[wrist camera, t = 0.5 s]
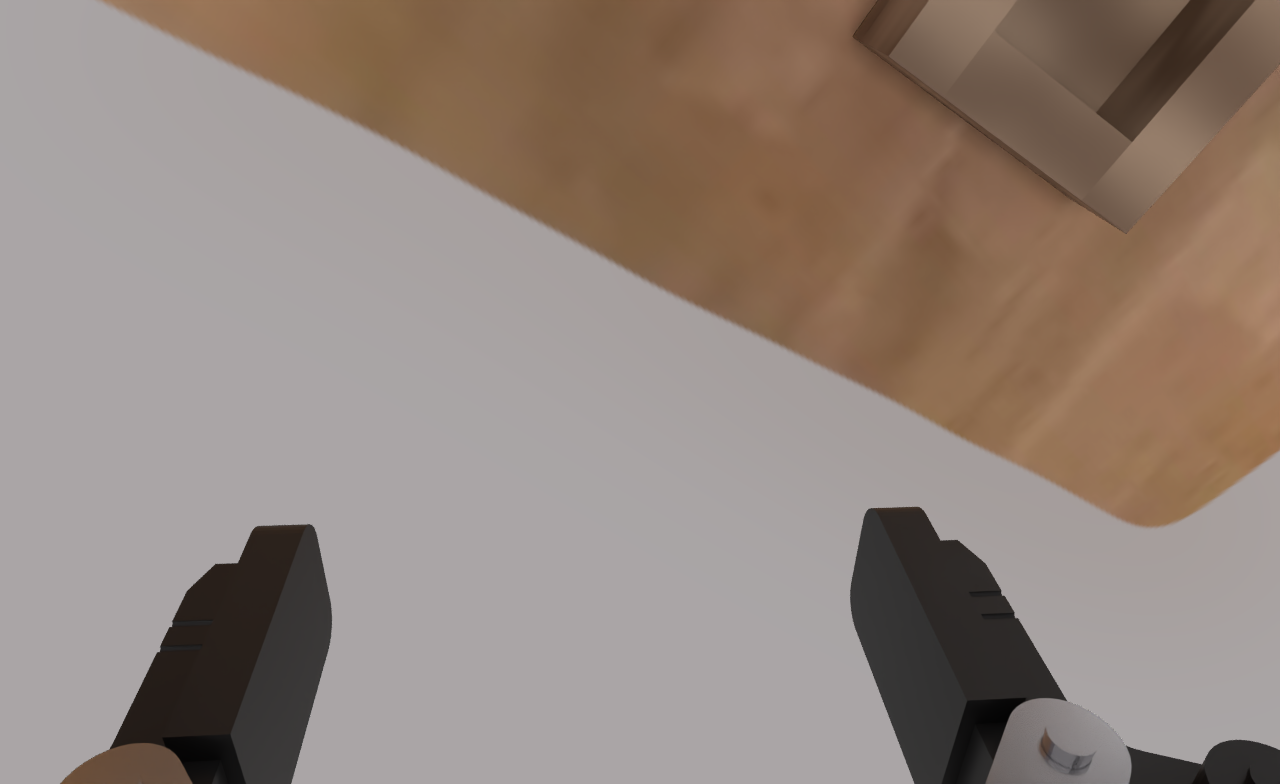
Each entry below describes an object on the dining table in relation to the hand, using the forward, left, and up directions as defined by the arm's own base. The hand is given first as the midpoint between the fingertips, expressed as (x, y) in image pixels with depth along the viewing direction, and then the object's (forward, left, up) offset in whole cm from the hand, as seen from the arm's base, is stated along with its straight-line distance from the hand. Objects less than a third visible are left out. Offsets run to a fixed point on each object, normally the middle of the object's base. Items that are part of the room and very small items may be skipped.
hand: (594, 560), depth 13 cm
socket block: (-15, +13, -24) cm, 31 cm away
